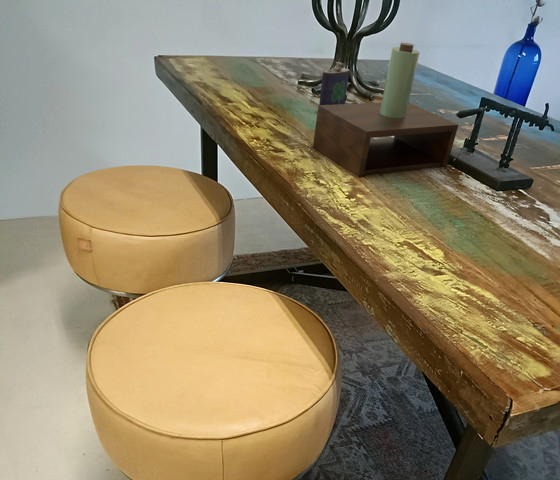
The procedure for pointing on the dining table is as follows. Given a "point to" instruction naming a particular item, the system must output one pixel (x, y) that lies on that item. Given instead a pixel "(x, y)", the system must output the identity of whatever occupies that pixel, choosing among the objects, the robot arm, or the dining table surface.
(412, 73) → the canister
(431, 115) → the shelf
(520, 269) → the dining table surface
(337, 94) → the flask
